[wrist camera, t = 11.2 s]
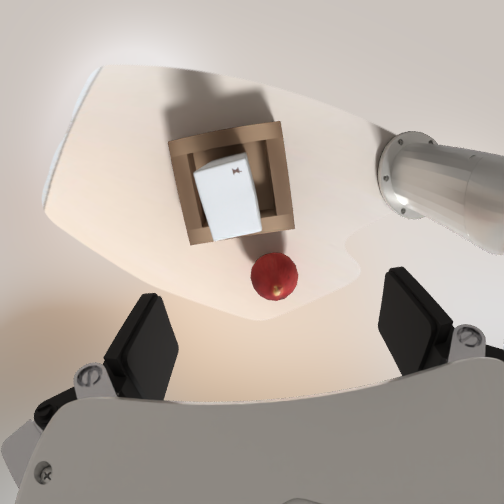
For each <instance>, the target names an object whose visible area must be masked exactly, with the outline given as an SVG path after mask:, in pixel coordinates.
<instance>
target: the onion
mask: <svg viewBox="0 0 504 504" xmlns="http://www.w3.org/2000/svg"><path fill="white" fill-rule="evenodd" d="M297 280H298V272H297V269H296V265H295V264H294V263H293V261H292V260H291V259H290V258H289V257H288V256H286V255H284V254H282V253H274V252H273V253H269V254H265V255H263V256H262V257H260V258H259V259H258V260H257V261H256V262H255V264H254V265H253V267H252V270H251V281H252V284H253V287H254V289H255V290H256V291H257V293H258V294H259V295H260V296H262V297H263V298H265V299H267V300H274V301H277V300H281V299H285V298H286V297H287V296H288V295H289V294H291V293H292V292H293V290H294V289H295V287H296V285H297Z"/></svg>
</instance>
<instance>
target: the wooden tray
mask: <svg viewBox="0 0 504 504" xmlns="http://www.w3.org/2000/svg"><path fill="white" fill-rule="evenodd" d="M168 145H169V151H170V156H171V161H172V166H173V171H174V176H175V181H176V185H177V190H178V194H179V199H180V203H181V208H182V212H183V216H184V221H185V225H186V229H187V233H188V237H189V241H190V245H195V244H201V243H207V242H213V238H212V234H211V231H210V228H209V225H208V221H207V218H206V215H205V212H204V209H203V206H202V202H201V199H200V196H199V193H198V189H197V185H196V181H195V178H194V174H193V173H194V172H195V171H196V170H198V169H199V168H201V167H203V166H204V165H206V164H207V163H209V162H211V161H212V160H215V159H219V158H223V157H226V156H230V155H234V154H239V153H243V152H246V153H247V157H248V161H249V165H250V169H251V173H252V177H253V181H254V185H255V189H256V194H257V200H258V206H259V212H260V218H261V225H262V231H260V232H256V233H251V234H247V235H242V236H237V237H233V238H238V237H244V236H251V235H257V234H264V233H270V232H277V231H283V230H290V229H295V225H294V216H293V208H292V199H291V191H290V184H289V176H288V169H287V162H286V155H285V148H284V141H283V135H282V128H281V122H280V121H277V122H268V123H261V124H254V125H247V126H241V127H235V128H229V129H223V130H218V131H213V132H208V133H203V134H198V135H194V136H189V137H185V138H181V139H177V140H173V141H169V142H168ZM228 239H232V238H228ZM223 240H226V239H223Z"/></svg>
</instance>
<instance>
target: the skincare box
mask: <svg viewBox="0 0 504 504" xmlns="http://www.w3.org/2000/svg"><path fill="white" fill-rule="evenodd" d="M193 174H194V178H195V181H196V185H197V189H198V193H199V196H200V199H201V202H202V206H203V209H204V212H205V215H206V218H207V221H208V225H209V228H210V231H211V234H212V238H213V241H219V240H223V239H228V238H233V237H237V236H242V235H247V234H251V233H256V232H260V231H262V225H261V218H260V212H259V206H258V200H257V194H256V189H255V185H254V181H253V177H252V173H251V169H250V165H249V161H248V157H247V153H246V152H243V153H239V154H234V155H230V156H226V157H223V158H219V159H215V160H212V161H211V162H209V163H207V164H206V165H204V166H203V167H201V168H199V169H198V170H196V171H195V172H194V173H193Z"/></svg>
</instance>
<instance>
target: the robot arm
mask: <svg viewBox="0 0 504 504" xmlns="http://www.w3.org/2000/svg"><path fill="white" fill-rule="evenodd" d="M398 142H399V143H398ZM383 178H384V179H383ZM378 181H379V187H380V191H381V194H382V196H383V198H384V200H385V202H386V204H387V205H388V206H389V207H390V208H391V209H392V210H393V211H394V212H395V213H397V214H398V215H400V216H402V217H405V218H407V219H421V218H423V217H427V218H429V219H431V220H433V221H435V222H437V223H438V224H440V225H442V226H444V227H445V228H447V229H449V230H451V231H453V232H454V233H456V234H458V235H459V236H461V237H463V238H464V239H466V240H468V241H469V242H471V243H472V244H474V245H476V246H478V247H479V248H481V249H482V250H484V251H486V252H488V253H491V254H495V255H504V156H501V155H496V154H491V153H486V152H481V151H475V150H470V149H464V148H457V147H450V146H443V145H438V144H437V143H436V141H435V140H434V139H432V138H431V137H430V136H428V135H426V134H424V133H421V132H415V131H414V132H413V131H412V132H411V131H408V132H404V133H401V134H399V135H397V136H395V137H394V138H393V139H392V140H391V141H390V142H389V143H388V144H387V146H386V147H385V149H384V151H383V153H382V155H381V158H380V162H379V168H378ZM452 324H453V321H452V319H451V318H450V317H449V316H448V315H447V313H446V312H445V311H444V310H443V309H442V308H441V307H440V305H439V304H438V303H437V302H436V301H435V300H434V299H433V298H432V297H431V295H430V294H429V293H428V292H427V291H426V290H425V289H424V288H423V287H422V286H421V285H420V284H419V283H418V282H417V280H416V279H415V278H413V276H412V275H411V274H410V273H409V272H408V271H407V270H406V269H405V268H404V267H396V268H390V270H389V272H387V273H386V275H385V282H384V289H383V296H382V303H381V310H380V316H379V322H378V329H379V332H380V334H381V335H382V337H383V339H384V341H385V343H386V345H387V347H388V349H389V351H390V352H391V354H392V356H393V358H394V360H395V362H396V364H397V366H398V368H399V370H400V372H401V374H402V376H401V377H397V378H393V379H390V380H386V381H382V382H378V383H373V384H369V385H364V386H360V387H355V388H350V389H345V390H339V391H334V392H327V393H321V394H314V395H308V396H299V397H291V398H281V399H271V400H256V401H236V402H186V401H185V402H184V401H164V397H165V393H166V390H167V387H168V383H169V380H170V377H171V373H172V370H173V367H174V364H175V361H176V357H177V355H178V350H179V349H178V343H177V341H176V338H175V335H174V332H173V329H172V327H171V324H170V321H169V318H168V315H167V312H166V309H165V306H164V303H163V300H162V298H161V297H160V296H158V295H157V294H156V293H148V294H142V296H141V297H140V299H139V300H138V302H137V303H136V305H135V306H134V308H133V310H132V311H131V313H130V314H129V316H128V318H127V319H126V321H125V322H124V324H123V326H122V327H121V329H120V330H119V332H118V334H117V336H116V337H115V339H114V341H113V342H112V344H111V345H110V347H109V349H108V351H107V353H106V354H105V356H104V360H105V361H104V363H103V365H102V364H100V363H89V364H86V365H84V366H83V367H81V368H80V369H79V370H78V371H77V372H76V374H75V376H74V387H72V388H70V389H68V390H66V391H64V392H62V393H60V394H58V395H56V396H54V397H52V398H50V399H48V400H46V401H44V402H43V403H41V404H40V405H39V406H38V407H37V409H36V410H35V413H34V421H32V420H31V419H30V420H29V421H27V422H26V423H25V424H24V425H23V426H22V427H20V428H19V429H18V430H17V431H16V432H14V433H13V434H12V435H11V436H10V437H8V438H7V439H6V440H5V441H4V443H3V445H2V450H1V452H2V456H3V458H4V460H5V462H6V465H7V466H8V469H9V471H10V473H11V475H12V477H13V479H14V481H15V483H16V484H17V486H18V488H19V491H18V494H17V498H16V502H15V504H504V349H499V348H496V347H492V346H489V345H486V340H485V336H484V334H483V332H482V331H481V330H480V329H478V328H477V327H475V326H472V325H467V324H464V325H460V326H457V327H456V328H454V327H453V325H452ZM503 348H504V346H503Z"/></svg>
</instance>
